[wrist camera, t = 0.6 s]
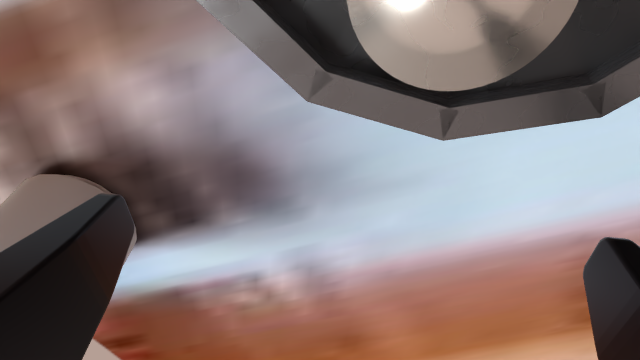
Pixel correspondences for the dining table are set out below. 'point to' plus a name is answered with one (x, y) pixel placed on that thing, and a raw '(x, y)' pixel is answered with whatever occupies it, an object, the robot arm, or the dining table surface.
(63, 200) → the can
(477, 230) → the dining table surface
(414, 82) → the cover
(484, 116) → the curvy grey metal tray
